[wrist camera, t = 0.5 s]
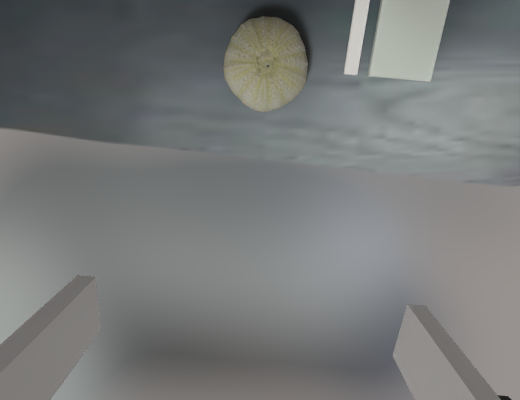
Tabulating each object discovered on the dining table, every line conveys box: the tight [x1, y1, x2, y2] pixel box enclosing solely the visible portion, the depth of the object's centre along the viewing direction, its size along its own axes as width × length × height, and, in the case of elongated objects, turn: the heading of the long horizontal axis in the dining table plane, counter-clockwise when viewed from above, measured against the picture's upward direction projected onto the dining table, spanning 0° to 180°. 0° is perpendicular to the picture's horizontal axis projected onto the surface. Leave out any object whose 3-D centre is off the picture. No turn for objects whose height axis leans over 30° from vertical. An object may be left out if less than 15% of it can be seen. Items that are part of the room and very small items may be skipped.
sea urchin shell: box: [223, 16, 308, 112], centre depth 32 cm, size 9×8×8 cm
